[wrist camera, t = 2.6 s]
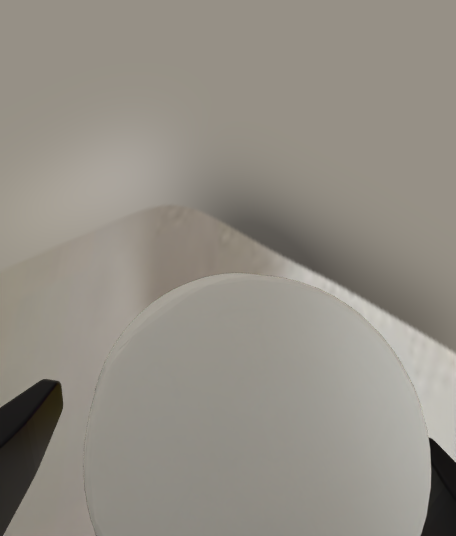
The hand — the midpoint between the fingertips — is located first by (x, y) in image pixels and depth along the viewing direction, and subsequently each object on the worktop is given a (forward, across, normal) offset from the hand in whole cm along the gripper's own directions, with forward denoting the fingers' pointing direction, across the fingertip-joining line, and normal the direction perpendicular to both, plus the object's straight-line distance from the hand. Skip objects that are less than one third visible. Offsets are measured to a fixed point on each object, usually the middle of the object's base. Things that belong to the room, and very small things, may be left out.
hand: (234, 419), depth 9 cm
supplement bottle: (+6, 0, +6) cm, 8 cm away
